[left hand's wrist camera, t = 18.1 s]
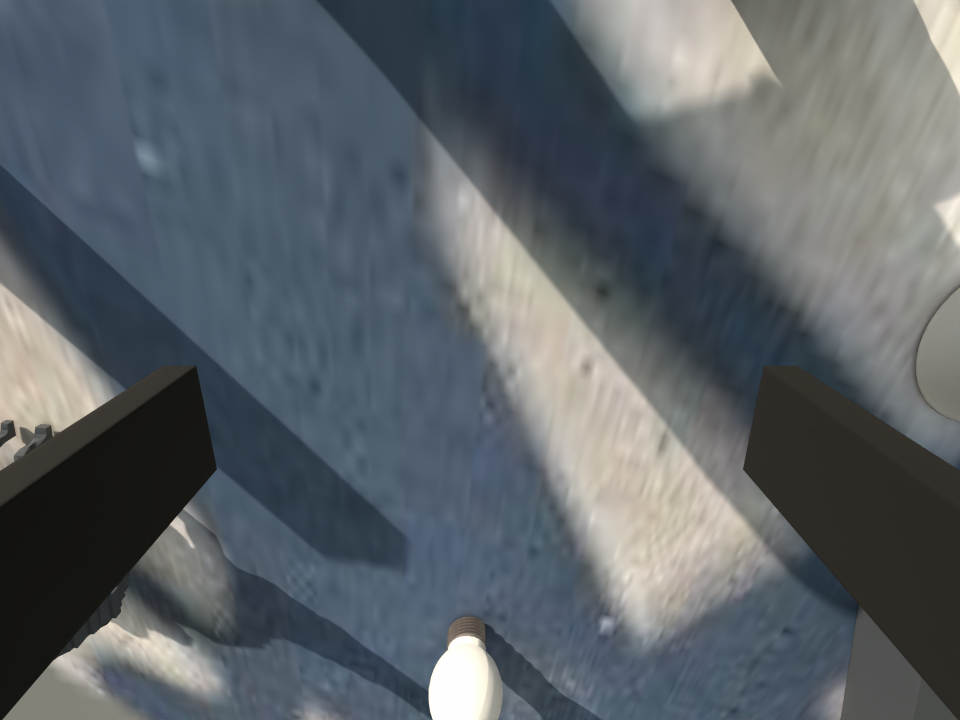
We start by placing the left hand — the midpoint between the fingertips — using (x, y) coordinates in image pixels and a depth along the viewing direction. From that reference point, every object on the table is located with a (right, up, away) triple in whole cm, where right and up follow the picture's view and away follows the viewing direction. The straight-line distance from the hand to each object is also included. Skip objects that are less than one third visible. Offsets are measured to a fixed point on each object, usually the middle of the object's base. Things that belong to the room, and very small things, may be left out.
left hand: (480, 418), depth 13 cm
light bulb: (-1, -27, +43) cm, 50 cm away
